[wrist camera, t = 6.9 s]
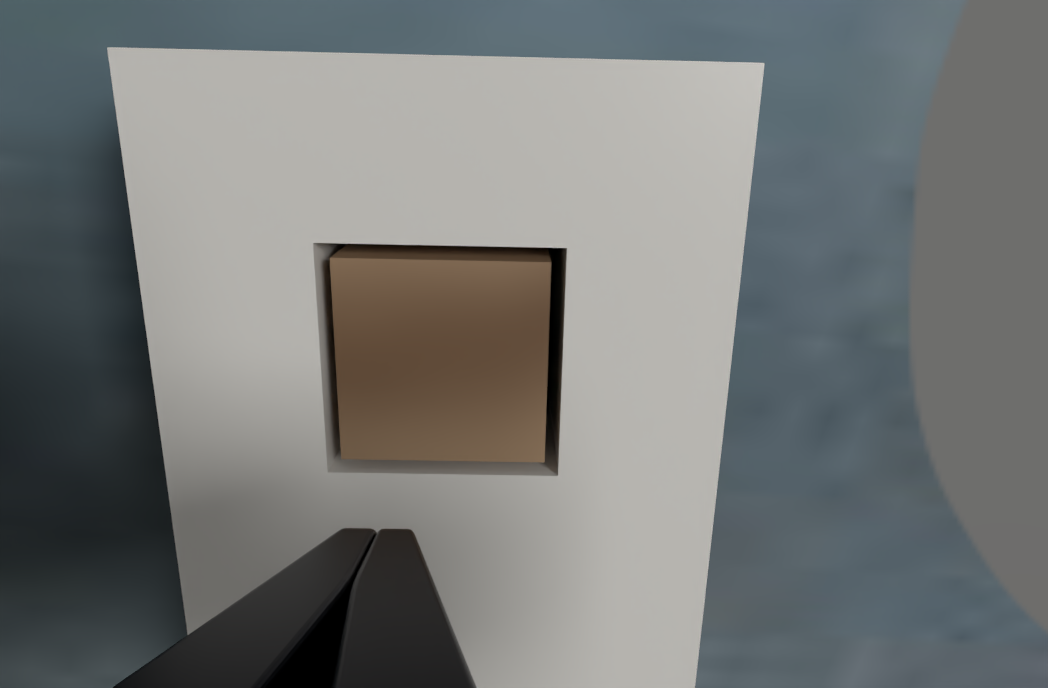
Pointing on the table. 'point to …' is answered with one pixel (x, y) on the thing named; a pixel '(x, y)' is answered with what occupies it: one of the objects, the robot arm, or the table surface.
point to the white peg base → (450, 220)
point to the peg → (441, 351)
